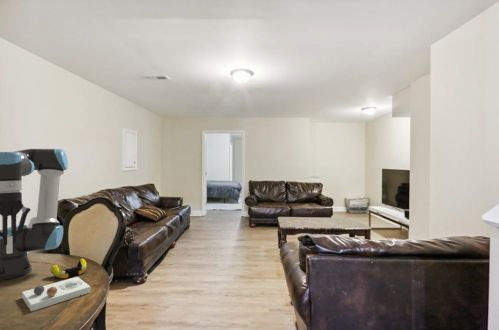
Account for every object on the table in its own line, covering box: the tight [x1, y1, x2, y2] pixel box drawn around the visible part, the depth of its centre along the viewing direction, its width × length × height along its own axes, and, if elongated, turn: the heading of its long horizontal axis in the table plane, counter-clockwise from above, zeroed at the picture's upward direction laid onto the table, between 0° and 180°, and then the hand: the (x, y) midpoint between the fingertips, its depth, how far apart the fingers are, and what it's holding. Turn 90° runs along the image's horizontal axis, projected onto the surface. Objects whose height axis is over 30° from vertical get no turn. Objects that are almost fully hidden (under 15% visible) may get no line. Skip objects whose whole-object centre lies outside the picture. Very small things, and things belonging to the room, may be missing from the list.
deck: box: [21, 276, 92, 312], centre depth 115 cm, size 16×20×2 cm
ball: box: [33, 285, 44, 295], centre depth 110 cm, size 3×3×3 cm
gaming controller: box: [50, 258, 87, 280], centre depth 137 cm, size 15×6×10 cm
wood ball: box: [47, 287, 57, 296], centre depth 109 cm, size 3×3×3 cm
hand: (9, 252), depth 107 cm, fingers closed
